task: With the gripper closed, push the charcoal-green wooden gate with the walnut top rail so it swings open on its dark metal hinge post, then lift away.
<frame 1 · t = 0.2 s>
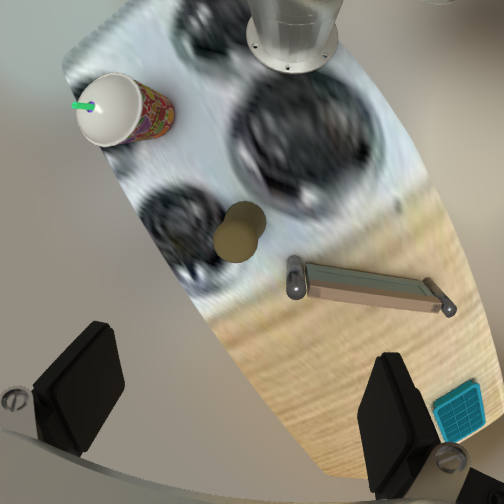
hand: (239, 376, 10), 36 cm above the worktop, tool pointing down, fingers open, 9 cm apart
cork: (245, 221, 46), on the worktop
ice cube tray: (457, 409, 55), on the worktop
smoothie: (156, 116, 42), on the worktop
gate posts: (294, 263, 47), on the worktop
gate: (373, 287, 42), point 5 cm above the worktop, hinge at 0.0°
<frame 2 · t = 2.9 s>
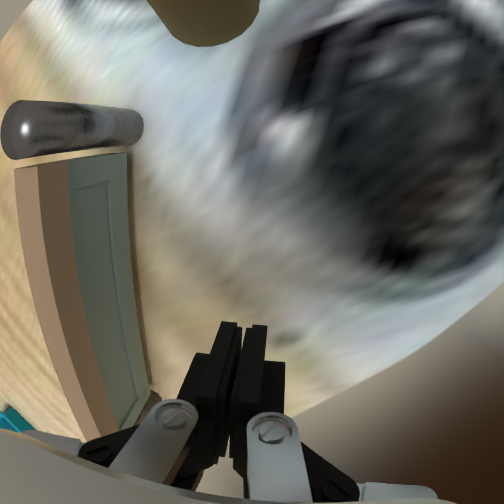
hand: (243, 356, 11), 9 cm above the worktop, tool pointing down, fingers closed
cork: (211, 6, 15), on the worktop
ice cube tray: (25, 436, 37), on the worktop
gate posts: (127, 127, 18), on the worktop
gate: (98, 323, 17), point 5 cm above the worktop, hinge at 0.0°
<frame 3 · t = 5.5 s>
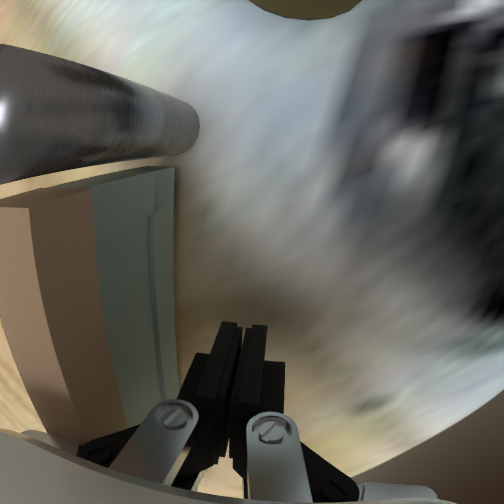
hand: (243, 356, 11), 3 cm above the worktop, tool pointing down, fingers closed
gate posts: (171, 127, 12), on the worktop
gate: (137, 421, 11), point 5 cm above the worktop, hinge at 1.1°, touching gripper
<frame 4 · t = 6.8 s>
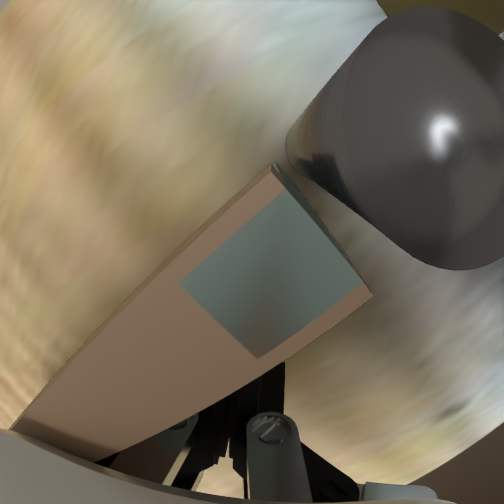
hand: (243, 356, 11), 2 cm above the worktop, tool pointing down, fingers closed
gate posts: (317, 146, 11), on the worktop
gate: (75, 383, 9), point 5 cm above the worktop, hinge at 44.4°, touching gripper
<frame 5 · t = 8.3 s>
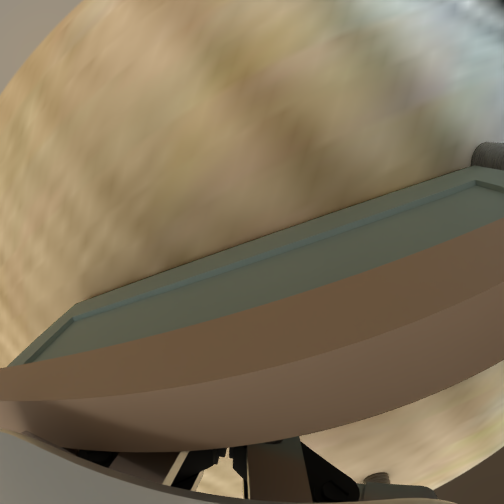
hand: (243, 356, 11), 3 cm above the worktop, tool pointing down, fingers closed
gate posts: (490, 168, 11), on the worktop
gate: (251, 302, 8), point 5 cm above the worktop, hinge at 65.4°, touching gripper
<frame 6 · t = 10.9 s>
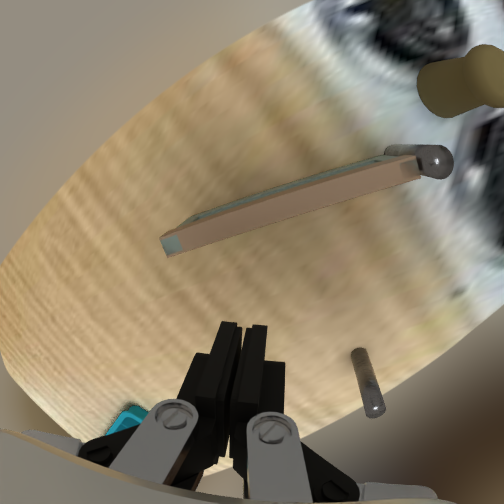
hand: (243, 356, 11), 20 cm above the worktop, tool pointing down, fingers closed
cork: (441, 90, 25), on the worktop
ice cube tray: (142, 439, 45), on the worktop
gate posts: (395, 156, 27), on the worktop
gate: (288, 196, 25), point 5 cm above the worktop, hinge at 67.3°
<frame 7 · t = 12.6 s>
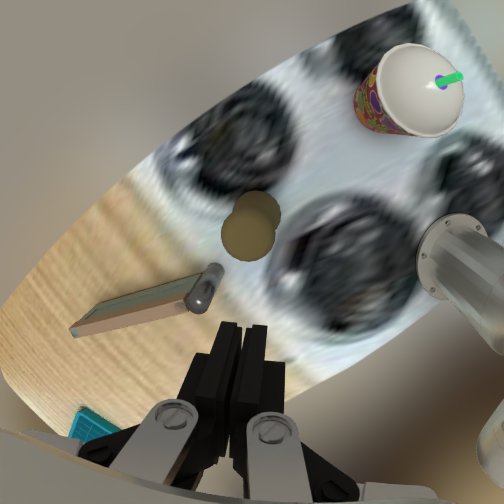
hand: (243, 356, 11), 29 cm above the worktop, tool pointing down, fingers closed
cork: (256, 214, 39), on the worktop
ice cube tray: (96, 432, 60), on the worktop
smoothie: (377, 106, 34), on the worktop
gate posts: (215, 271, 42), on the worktop
gate: (132, 307, 40), point 5 cm above the worktop, hinge at 67.3°
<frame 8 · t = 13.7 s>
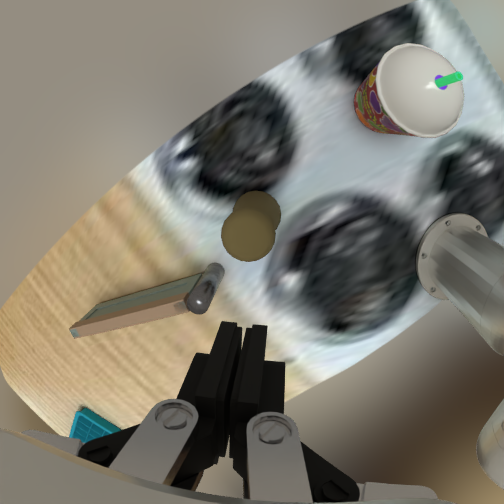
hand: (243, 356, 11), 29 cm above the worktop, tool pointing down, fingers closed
cork: (256, 214, 39), on the worktop
ice cube tray: (97, 433, 60), on the worktop
smoothie: (377, 107, 34), on the worktop
gate posts: (215, 271, 42), on the worktop
gate: (133, 307, 40), point 5 cm above the worktop, hinge at 67.3°
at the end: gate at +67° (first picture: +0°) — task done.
